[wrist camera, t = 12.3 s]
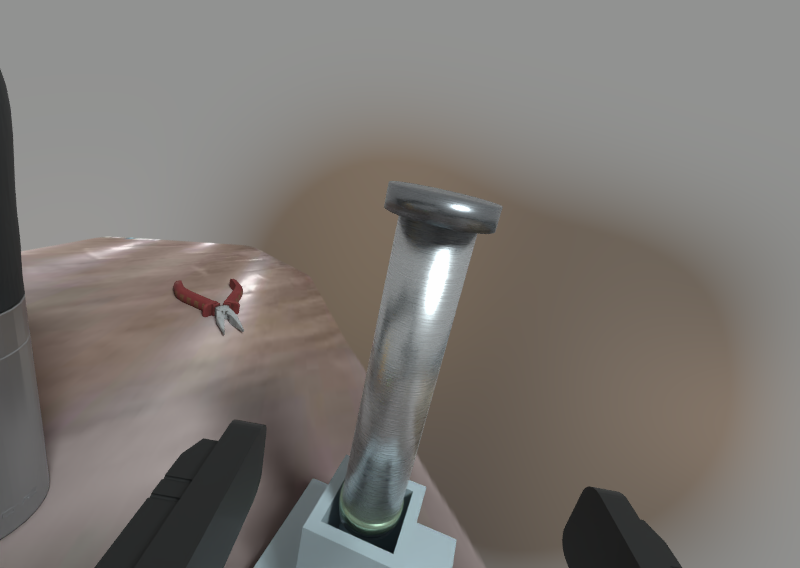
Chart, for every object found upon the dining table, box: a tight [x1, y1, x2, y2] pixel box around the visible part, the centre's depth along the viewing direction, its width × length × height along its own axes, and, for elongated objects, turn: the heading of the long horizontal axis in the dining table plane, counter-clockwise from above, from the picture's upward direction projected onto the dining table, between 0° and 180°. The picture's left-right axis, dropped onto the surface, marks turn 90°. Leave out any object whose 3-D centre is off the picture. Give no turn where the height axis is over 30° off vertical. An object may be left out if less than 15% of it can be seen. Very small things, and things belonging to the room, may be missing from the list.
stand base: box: [254, 455, 456, 568], centre depth 26 cm, size 14×14×10 cm
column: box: [339, 181, 502, 541], centre depth 22 cm, size 6×6×21 cm
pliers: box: [173, 279, 244, 335], centre depth 65 cm, size 12×20×3 cm, turn 37°
